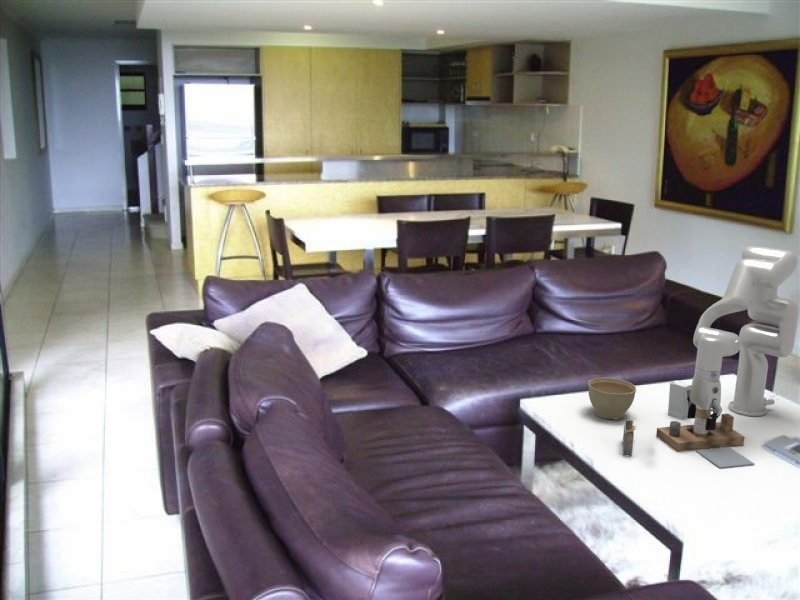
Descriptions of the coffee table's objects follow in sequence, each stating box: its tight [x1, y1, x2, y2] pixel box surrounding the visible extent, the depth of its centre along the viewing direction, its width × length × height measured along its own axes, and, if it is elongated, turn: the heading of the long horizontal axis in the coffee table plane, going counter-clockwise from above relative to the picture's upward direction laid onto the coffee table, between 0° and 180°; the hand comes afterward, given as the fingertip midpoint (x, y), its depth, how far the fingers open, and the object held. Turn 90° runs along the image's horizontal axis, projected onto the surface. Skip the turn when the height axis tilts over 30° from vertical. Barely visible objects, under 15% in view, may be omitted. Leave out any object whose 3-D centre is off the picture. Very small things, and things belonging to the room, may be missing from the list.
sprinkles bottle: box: [693, 405, 712, 437], centre depth 254 cm, size 5×5×13 cm
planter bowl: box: [587, 377, 637, 420], centre depth 274 cm, size 16×16×11 cm
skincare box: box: [667, 380, 692, 420], centre depth 274 cm, size 6×4×12 cm
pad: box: [695, 447, 755, 470], centre depth 243 cm, size 12×12×1 cm
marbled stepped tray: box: [622, 419, 637, 457], centre depth 248 cm, size 11×3×10 cm, turn 165°
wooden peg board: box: [656, 413, 746, 453], centre depth 255 cm, size 24×12×8 cm, turn 104°
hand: (700, 423), depth 254 cm, fingers open, 9 cm apart
